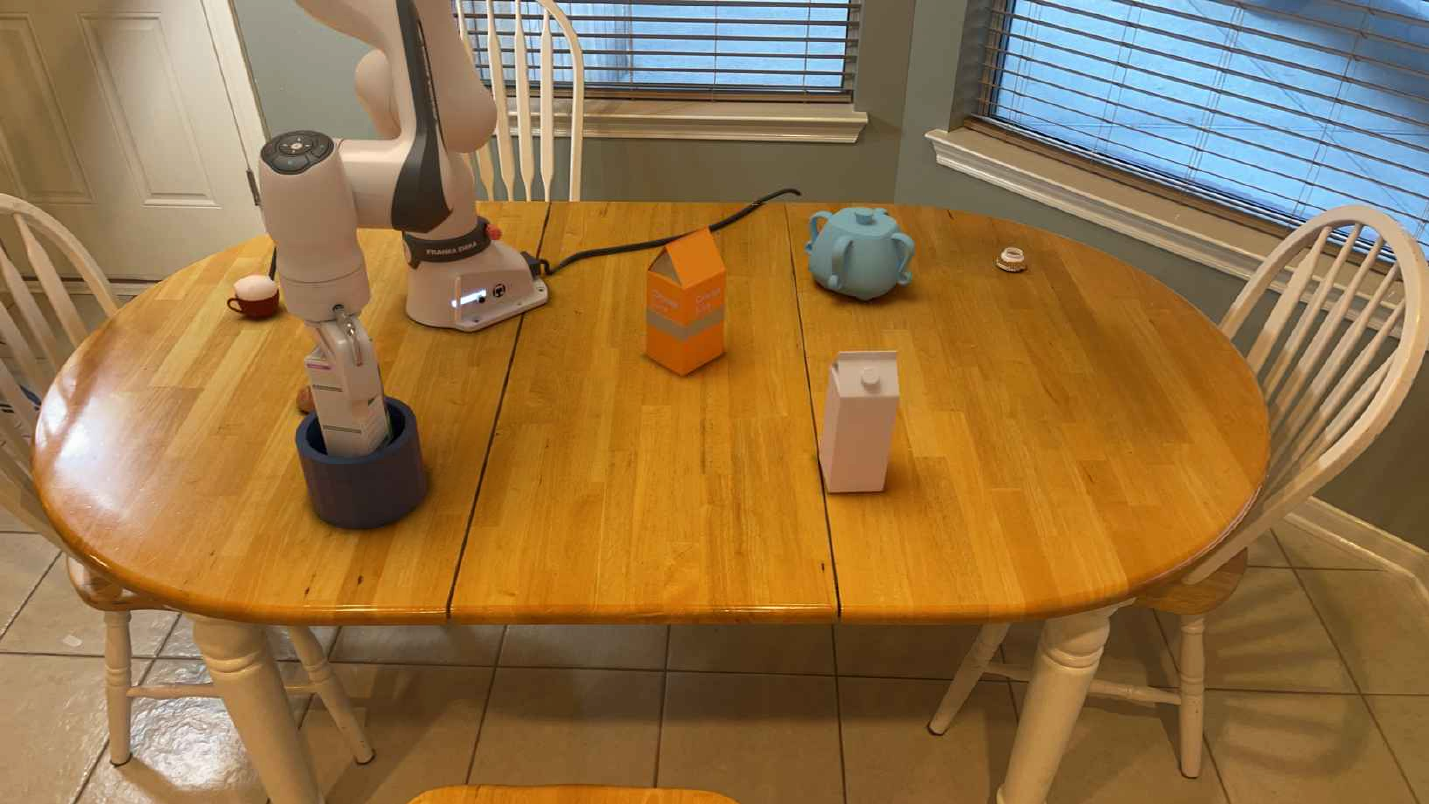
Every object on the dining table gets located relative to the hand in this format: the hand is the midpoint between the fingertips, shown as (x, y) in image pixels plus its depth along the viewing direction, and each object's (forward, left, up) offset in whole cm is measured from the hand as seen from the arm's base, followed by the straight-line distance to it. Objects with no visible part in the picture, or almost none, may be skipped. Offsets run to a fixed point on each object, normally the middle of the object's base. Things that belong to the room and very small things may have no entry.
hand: (348, 392), depth 117 cm
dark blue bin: (0, 0, -15) cm, 15 cm away
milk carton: (-54, +28, -15) cm, 63 cm away
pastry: (-2, -20, -15) cm, 26 cm away
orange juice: (-50, -7, -15) cm, 53 cm away
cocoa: (+1, -50, -15) cm, 53 cm away
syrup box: (0, 0, -9) cm, 9 cm away
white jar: (-116, -4, -15) cm, 117 cm away
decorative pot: (-87, -12, -15) cm, 89 cm away
